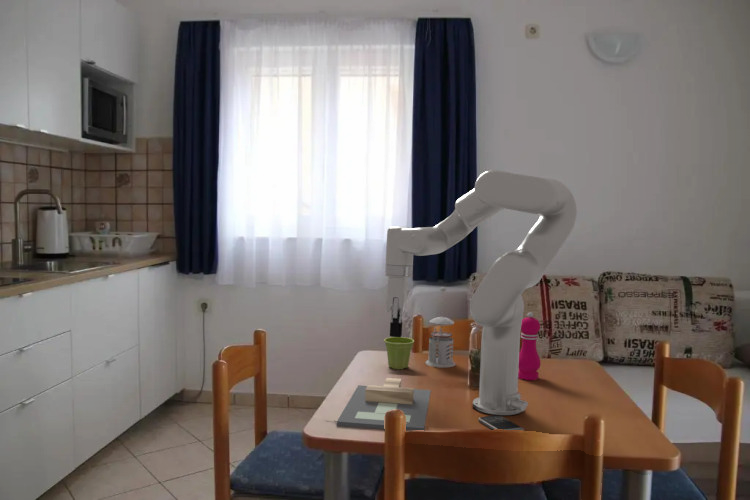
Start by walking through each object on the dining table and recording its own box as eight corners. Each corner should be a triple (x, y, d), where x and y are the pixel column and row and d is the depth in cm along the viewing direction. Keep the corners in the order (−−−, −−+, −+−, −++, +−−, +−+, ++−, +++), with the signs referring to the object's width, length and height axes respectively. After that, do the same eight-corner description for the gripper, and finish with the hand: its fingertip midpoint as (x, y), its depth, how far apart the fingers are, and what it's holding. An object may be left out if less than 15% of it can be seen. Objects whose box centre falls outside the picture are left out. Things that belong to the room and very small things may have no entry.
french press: (459, 362, 209) (461, 286, 207) (449, 370, 198) (452, 290, 197) (430, 358, 213) (433, 284, 211) (419, 366, 202) (422, 288, 200)
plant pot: (413, 371, 196) (414, 343, 195) (383, 370, 196) (384, 342, 195) (412, 363, 205) (413, 337, 204) (383, 363, 205) (384, 336, 204)
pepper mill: (542, 377, 193) (545, 311, 192) (535, 382, 187) (539, 315, 186) (519, 373, 197) (522, 309, 196) (512, 378, 191) (515, 312, 189)
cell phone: (498, 420, 154) (498, 414, 154) (525, 435, 144) (526, 429, 144) (476, 422, 152) (476, 416, 152) (502, 438, 142) (503, 432, 142)
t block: (371, 387, 173) (372, 376, 173) (415, 390, 172) (416, 379, 172) (365, 401, 161) (365, 389, 161) (412, 404, 160) (412, 392, 160)
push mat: (358, 388, 175) (358, 385, 175) (430, 393, 173) (430, 390, 173) (336, 425, 146) (336, 421, 146) (423, 432, 143) (424, 427, 143)
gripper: (388, 267, 184) (385, 330, 185) (382, 273, 169) (378, 341, 170) (414, 269, 183) (411, 331, 184) (410, 274, 168) (406, 343, 169)
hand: (395, 336), depth 177 cm, fingers closed
